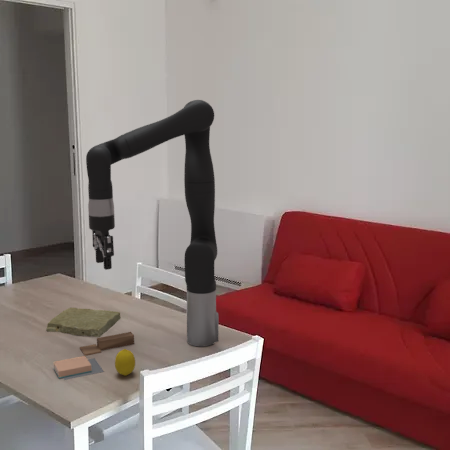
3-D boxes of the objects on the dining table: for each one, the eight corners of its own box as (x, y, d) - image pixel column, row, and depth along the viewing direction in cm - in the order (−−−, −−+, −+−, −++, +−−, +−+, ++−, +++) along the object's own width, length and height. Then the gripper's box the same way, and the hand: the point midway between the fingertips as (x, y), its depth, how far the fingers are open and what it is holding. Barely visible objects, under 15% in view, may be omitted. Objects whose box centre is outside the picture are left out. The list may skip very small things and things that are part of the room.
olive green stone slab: (68, 314, 209) (68, 305, 209) (121, 319, 205) (120, 309, 205) (42, 334, 191) (42, 324, 191) (99, 339, 187) (99, 329, 187)
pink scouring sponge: (85, 355, 168) (53, 361, 164) (91, 365, 162) (58, 371, 158) (85, 362, 168) (53, 368, 164) (91, 371, 162) (59, 378, 158)
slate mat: (94, 359, 171) (94, 358, 171) (104, 372, 163) (104, 371, 163) (56, 366, 166) (56, 365, 166) (64, 381, 158) (64, 379, 158)
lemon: (136, 371, 164) (135, 344, 162) (134, 380, 158) (133, 353, 157) (116, 371, 163) (116, 345, 162) (113, 380, 158) (112, 353, 156)
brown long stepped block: (135, 347, 180) (135, 336, 180) (85, 357, 173) (84, 346, 172) (129, 340, 186) (129, 330, 185) (79, 350, 178) (79, 339, 177)
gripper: (121, 216, 168) (122, 269, 171) (106, 208, 180) (108, 258, 184) (95, 218, 165) (97, 273, 168) (82, 210, 177) (85, 261, 180)
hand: (103, 265), depth 176 cm, fingers open, 8 cm apart
